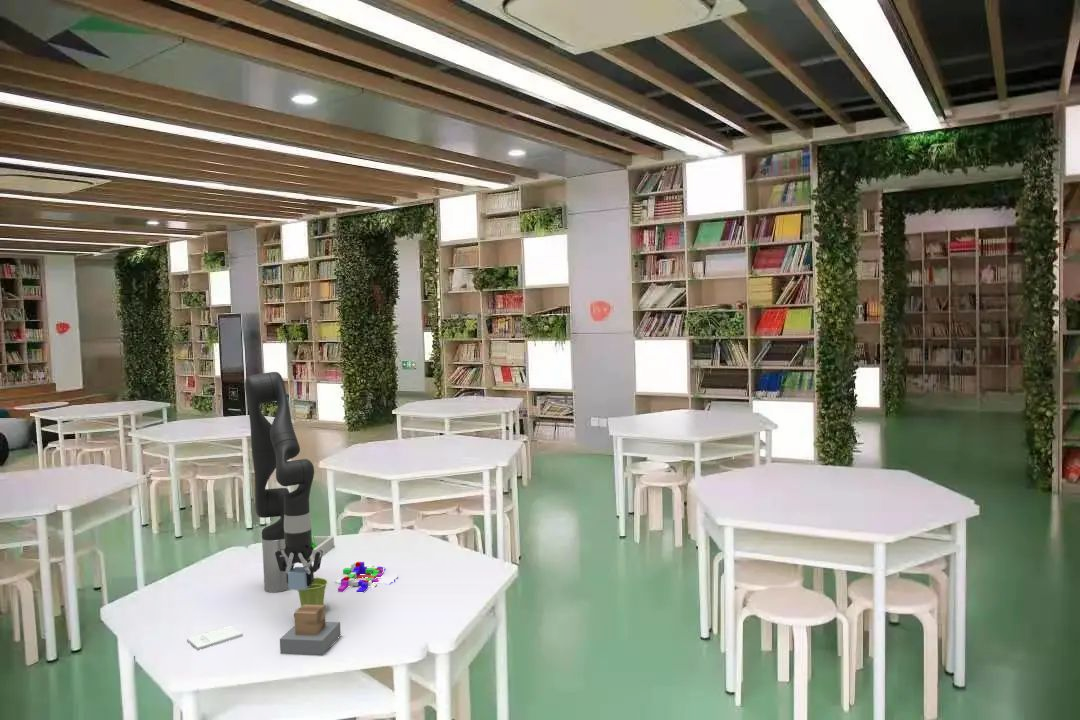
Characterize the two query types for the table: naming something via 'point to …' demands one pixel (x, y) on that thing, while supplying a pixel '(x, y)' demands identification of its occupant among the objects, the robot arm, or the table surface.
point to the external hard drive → (214, 637)
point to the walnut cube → (309, 619)
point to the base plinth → (310, 640)
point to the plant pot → (313, 593)
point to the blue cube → (297, 579)
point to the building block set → (359, 576)
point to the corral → (323, 544)
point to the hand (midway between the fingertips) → (300, 584)
